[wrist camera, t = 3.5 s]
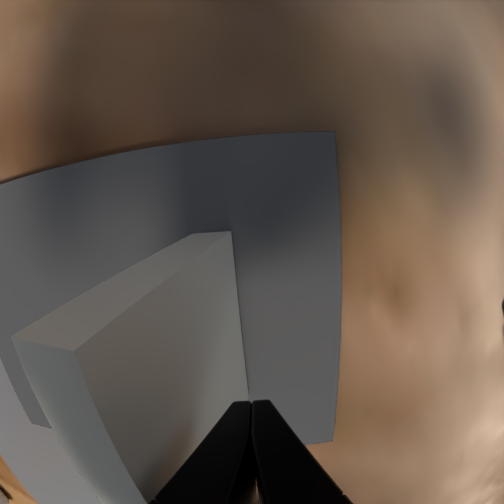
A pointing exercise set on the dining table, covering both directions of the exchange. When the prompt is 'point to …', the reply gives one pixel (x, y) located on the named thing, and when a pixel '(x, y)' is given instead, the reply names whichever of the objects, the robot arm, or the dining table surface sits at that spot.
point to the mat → (180, 226)
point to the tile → (141, 366)
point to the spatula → (3, 498)
